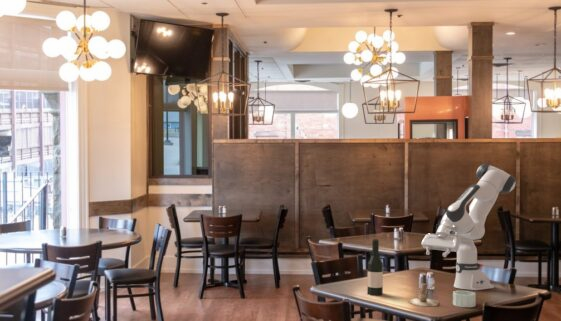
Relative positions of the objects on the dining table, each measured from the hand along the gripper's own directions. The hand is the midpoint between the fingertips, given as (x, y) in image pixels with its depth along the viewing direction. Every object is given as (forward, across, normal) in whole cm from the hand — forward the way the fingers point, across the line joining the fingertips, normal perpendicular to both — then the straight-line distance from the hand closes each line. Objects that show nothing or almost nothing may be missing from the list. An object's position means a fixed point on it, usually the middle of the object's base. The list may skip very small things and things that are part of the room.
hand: (435, 255), depth 357 cm
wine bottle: (+24, -30, +9) cm, 40 cm away
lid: (+25, 0, +8) cm, 26 cm away
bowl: (+18, +17, +15) cm, 29 cm away
